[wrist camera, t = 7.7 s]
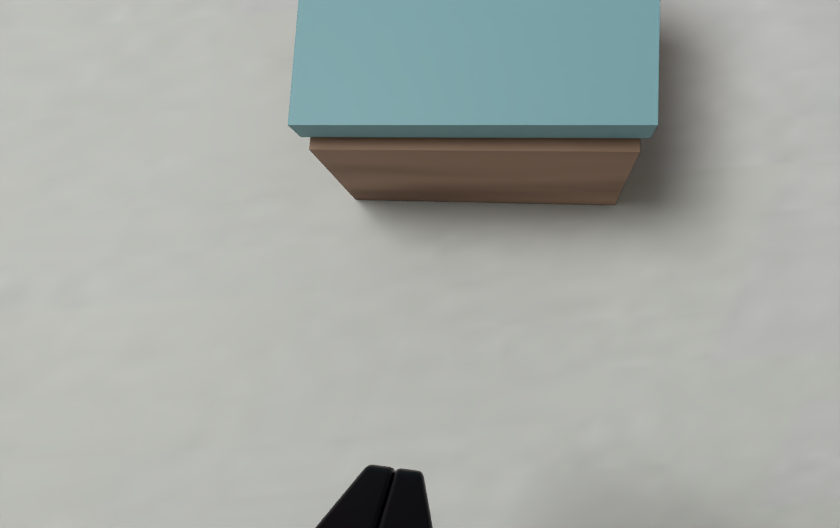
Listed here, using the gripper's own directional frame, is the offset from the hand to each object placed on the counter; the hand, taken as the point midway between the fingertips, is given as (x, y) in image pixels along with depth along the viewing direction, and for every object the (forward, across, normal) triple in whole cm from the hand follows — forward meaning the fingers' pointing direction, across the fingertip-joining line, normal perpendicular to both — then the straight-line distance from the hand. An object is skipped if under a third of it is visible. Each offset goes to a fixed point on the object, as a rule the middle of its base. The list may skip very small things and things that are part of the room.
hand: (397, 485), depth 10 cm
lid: (+12, 0, -4) cm, 13 cm away
